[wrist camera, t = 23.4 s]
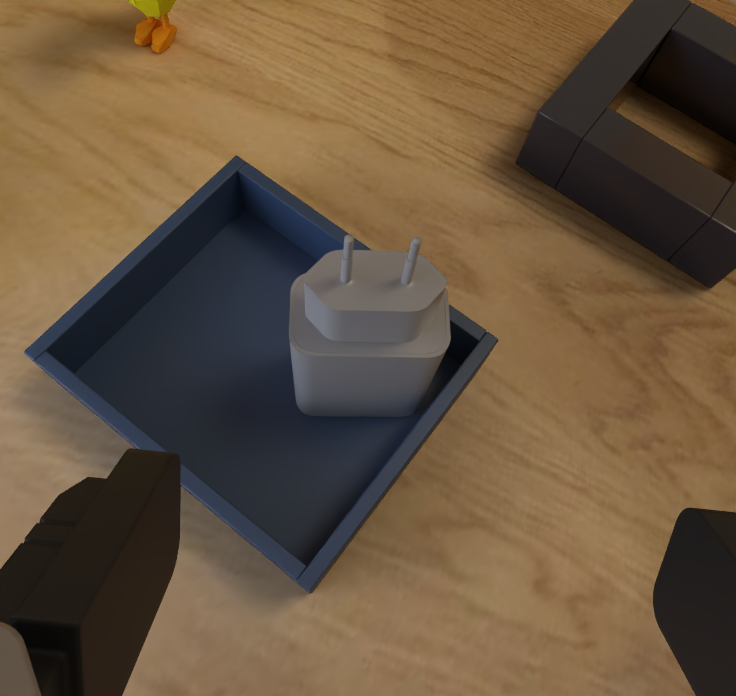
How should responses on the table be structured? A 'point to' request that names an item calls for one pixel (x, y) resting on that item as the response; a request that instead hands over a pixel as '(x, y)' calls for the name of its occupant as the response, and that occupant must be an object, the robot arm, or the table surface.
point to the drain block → (647, 135)
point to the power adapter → (367, 332)
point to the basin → (241, 372)
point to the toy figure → (154, 24)
